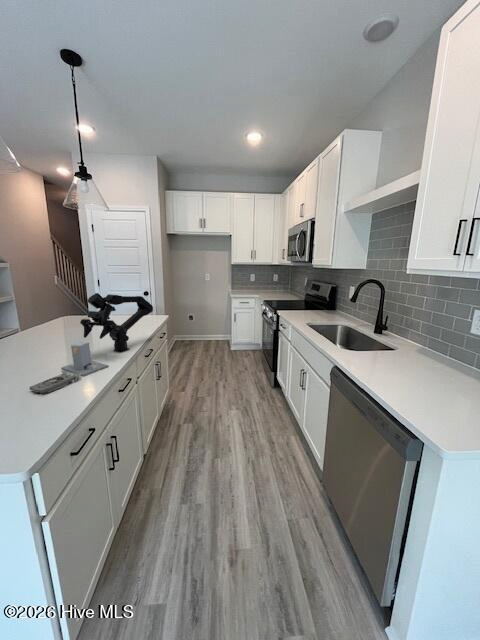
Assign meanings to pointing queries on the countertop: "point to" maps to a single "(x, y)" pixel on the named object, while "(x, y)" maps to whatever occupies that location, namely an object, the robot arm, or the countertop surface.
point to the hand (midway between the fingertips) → (92, 337)
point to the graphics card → (56, 382)
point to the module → (81, 355)
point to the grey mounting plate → (86, 368)
